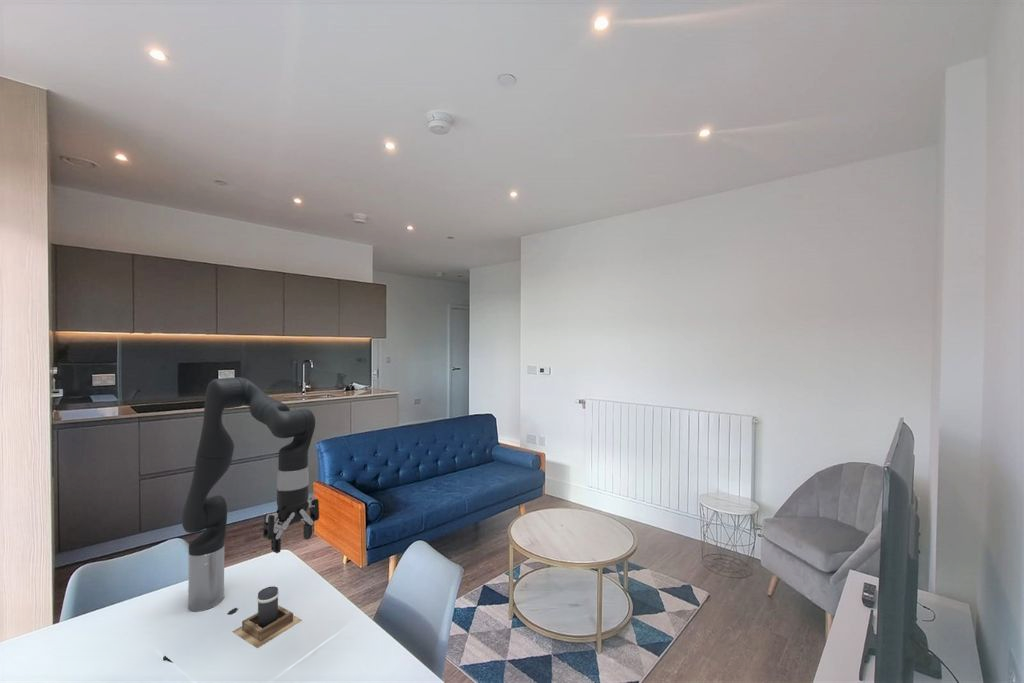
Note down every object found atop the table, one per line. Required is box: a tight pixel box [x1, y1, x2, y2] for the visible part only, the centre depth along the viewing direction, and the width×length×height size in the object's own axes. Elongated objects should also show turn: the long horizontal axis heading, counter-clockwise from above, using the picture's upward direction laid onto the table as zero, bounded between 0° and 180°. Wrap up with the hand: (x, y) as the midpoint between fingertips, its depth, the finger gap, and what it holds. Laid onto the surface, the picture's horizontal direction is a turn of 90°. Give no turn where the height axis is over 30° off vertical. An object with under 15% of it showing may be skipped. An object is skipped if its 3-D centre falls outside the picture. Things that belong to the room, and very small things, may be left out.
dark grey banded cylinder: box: [257, 585, 279, 628], centre depth 119 cm, size 5×5×10 cm
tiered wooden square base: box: [231, 604, 303, 649], centre depth 119 cm, size 13×13×3 cm
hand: (292, 545), depth 109 cm, fingers open, 8 cm apart
